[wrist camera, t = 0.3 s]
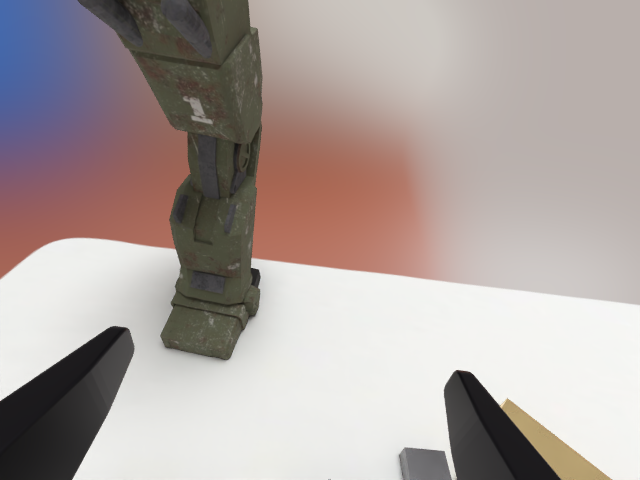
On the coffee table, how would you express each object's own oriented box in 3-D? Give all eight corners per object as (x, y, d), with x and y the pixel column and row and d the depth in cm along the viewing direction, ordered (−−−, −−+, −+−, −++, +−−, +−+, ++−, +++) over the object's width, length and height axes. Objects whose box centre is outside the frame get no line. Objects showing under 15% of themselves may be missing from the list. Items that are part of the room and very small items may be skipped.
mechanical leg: (218, 239, 38) (135, -185, 15) (279, 251, 37) (291, -158, 15) (161, 355, 29) (-279, -266, 6) (241, 372, 28) (115, -197, 6)
